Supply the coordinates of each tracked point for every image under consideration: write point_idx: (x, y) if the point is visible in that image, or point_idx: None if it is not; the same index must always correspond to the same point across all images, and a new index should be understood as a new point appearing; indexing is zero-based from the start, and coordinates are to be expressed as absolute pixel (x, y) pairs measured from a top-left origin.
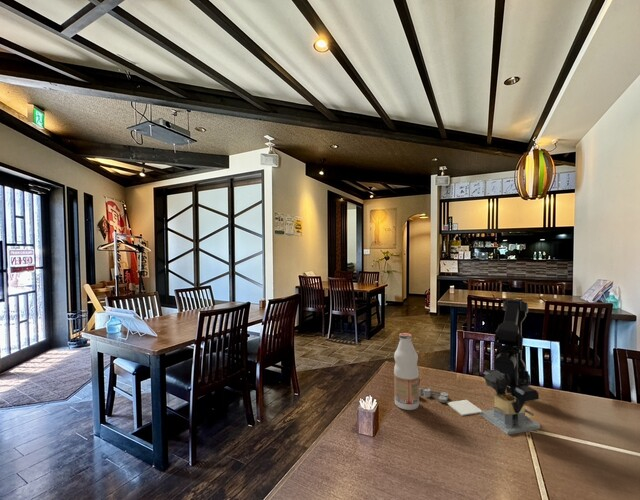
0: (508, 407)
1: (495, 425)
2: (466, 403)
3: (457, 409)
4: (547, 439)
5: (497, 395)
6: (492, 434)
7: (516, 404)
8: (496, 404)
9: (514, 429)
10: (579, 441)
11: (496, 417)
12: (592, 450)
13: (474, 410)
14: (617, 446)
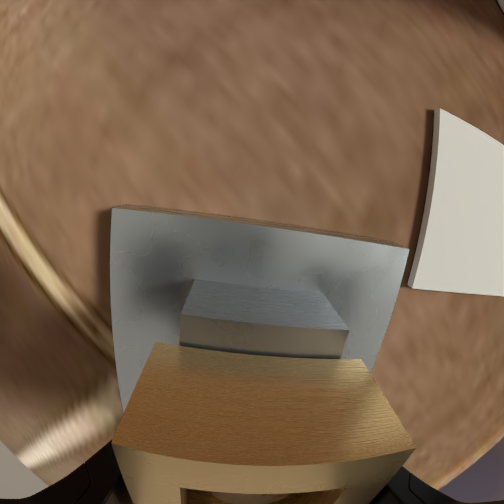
0: (134, 397)
1: (246, 219)
2: (494, 262)
3: (482, 143)
4: (56, 371)
5: (377, 469)
6: (172, 100)
7: (85, 472)
8: (342, 375)
9: (111, 275)
10: (51, 438)
11: (293, 291)
12: (12, 416)
13: (442, 239)
14: (41, 469)
